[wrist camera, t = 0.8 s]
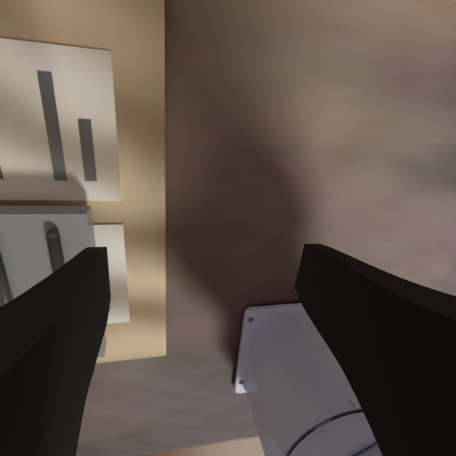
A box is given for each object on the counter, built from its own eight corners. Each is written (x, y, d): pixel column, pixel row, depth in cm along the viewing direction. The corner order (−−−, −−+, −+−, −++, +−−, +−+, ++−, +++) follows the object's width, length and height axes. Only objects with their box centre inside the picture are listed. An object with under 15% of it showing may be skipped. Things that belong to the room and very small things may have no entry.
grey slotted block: (110, 364, 21) (105, 394, 19) (16, 375, 20) (-1, 409, 18) (92, 204, 16) (82, 220, 14) (-36, 203, 15) (-68, 222, 13)
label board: (166, 352, 23) (166, 358, 23) (-44, 375, 20) (-49, 383, 19) (164, -9, 14) (164, -13, 13) (-234, -76, 10) (-256, -85, 10)
